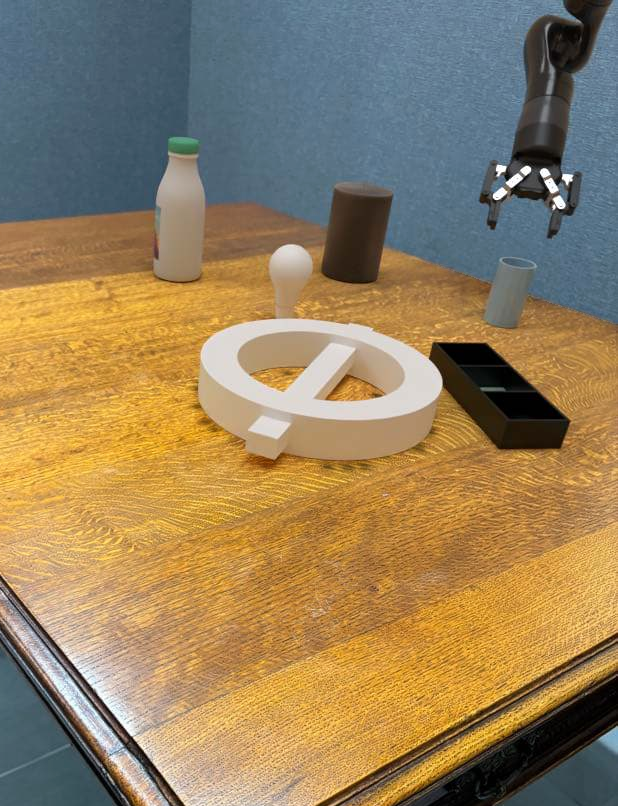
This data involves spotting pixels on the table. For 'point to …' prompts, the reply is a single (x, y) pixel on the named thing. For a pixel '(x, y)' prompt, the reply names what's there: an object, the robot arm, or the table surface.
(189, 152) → the milk bottle
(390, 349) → the ring with crossbar
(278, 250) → the lightbulb
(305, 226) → the table surface
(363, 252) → the pillar candle
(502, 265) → the cup
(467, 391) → the rack
